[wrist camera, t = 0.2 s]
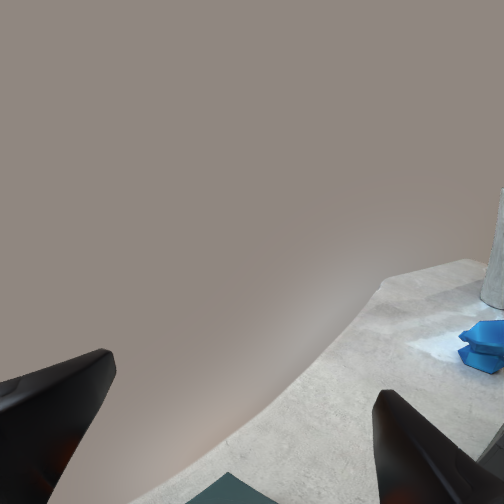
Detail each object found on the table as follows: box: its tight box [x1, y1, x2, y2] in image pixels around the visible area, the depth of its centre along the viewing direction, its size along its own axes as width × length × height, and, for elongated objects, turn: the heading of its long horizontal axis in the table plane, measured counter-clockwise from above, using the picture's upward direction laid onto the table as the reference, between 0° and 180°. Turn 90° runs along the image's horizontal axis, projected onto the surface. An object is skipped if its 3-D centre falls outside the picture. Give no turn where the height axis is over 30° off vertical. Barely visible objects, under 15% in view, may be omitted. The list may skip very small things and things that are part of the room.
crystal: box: [458, 320, 504, 374], centre depth 28 cm, size 7×9×12 cm
